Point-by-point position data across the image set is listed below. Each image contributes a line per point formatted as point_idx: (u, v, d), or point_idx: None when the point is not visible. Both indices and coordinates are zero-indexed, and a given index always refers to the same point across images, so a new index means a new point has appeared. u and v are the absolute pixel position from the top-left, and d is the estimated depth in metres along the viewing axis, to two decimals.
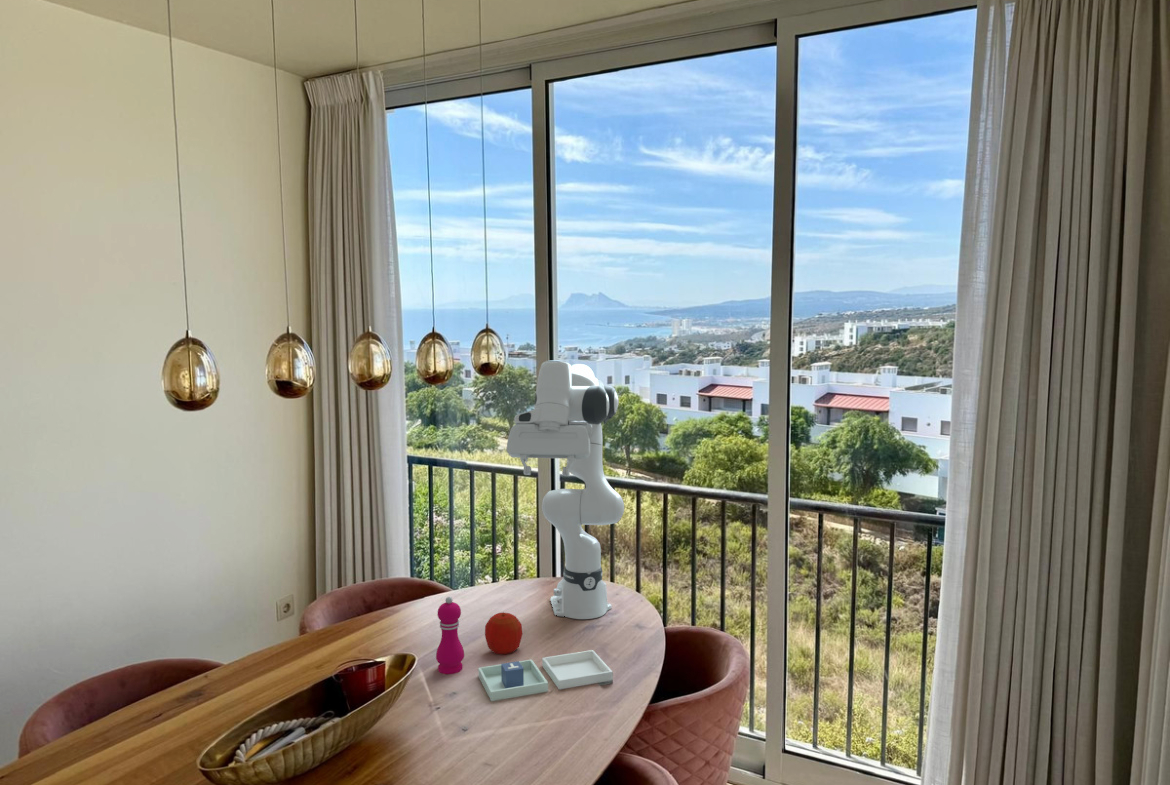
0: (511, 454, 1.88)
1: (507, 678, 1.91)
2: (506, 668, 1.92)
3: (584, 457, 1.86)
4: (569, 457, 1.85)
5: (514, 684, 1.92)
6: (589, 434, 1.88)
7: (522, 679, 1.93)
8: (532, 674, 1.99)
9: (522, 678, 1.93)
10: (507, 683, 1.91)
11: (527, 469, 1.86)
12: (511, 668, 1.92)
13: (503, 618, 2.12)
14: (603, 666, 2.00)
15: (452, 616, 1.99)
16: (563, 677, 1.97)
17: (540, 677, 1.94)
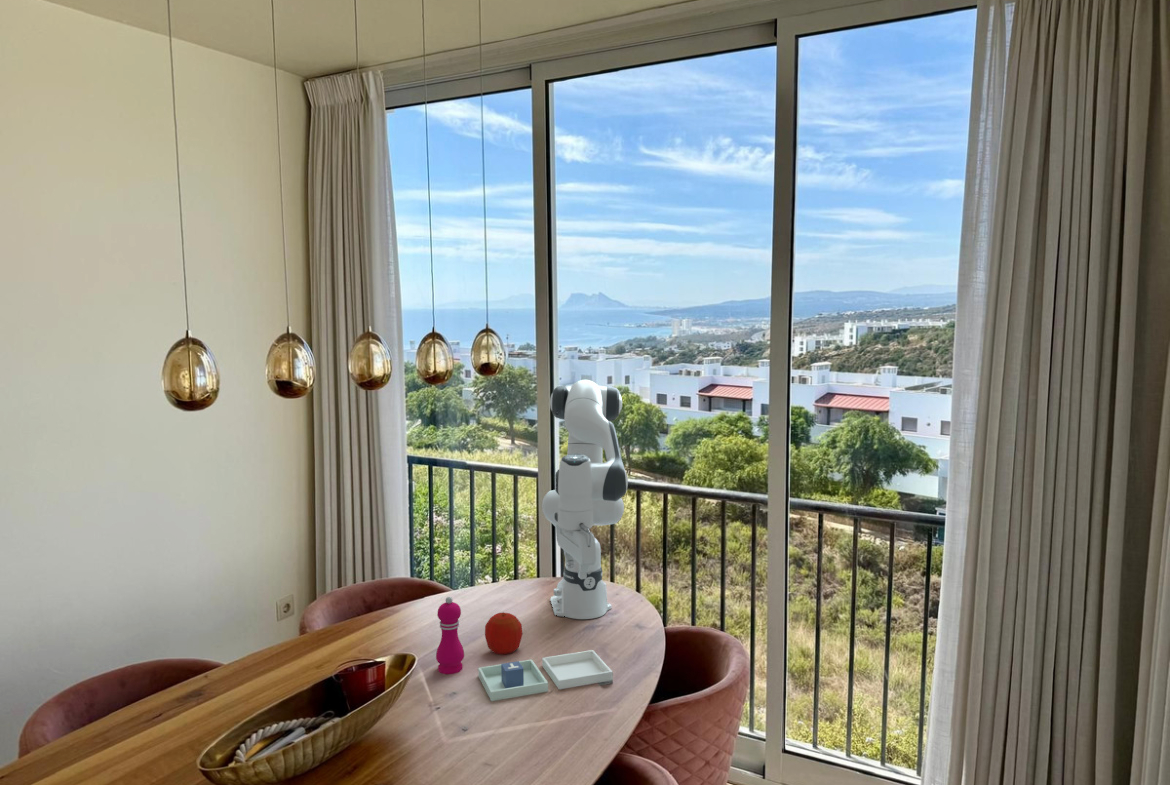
0: None
1: (507, 678, 1.91)
2: (506, 668, 1.92)
3: None
4: (579, 563, 1.92)
5: (514, 684, 1.92)
6: (587, 543, 1.88)
7: (522, 679, 1.93)
8: (532, 674, 1.99)
9: (522, 678, 1.93)
10: (507, 683, 1.91)
11: (567, 564, 2.02)
12: (511, 668, 1.92)
13: (503, 618, 2.12)
14: (603, 666, 2.00)
15: (452, 616, 1.99)
16: (563, 677, 1.97)
17: (540, 677, 1.94)
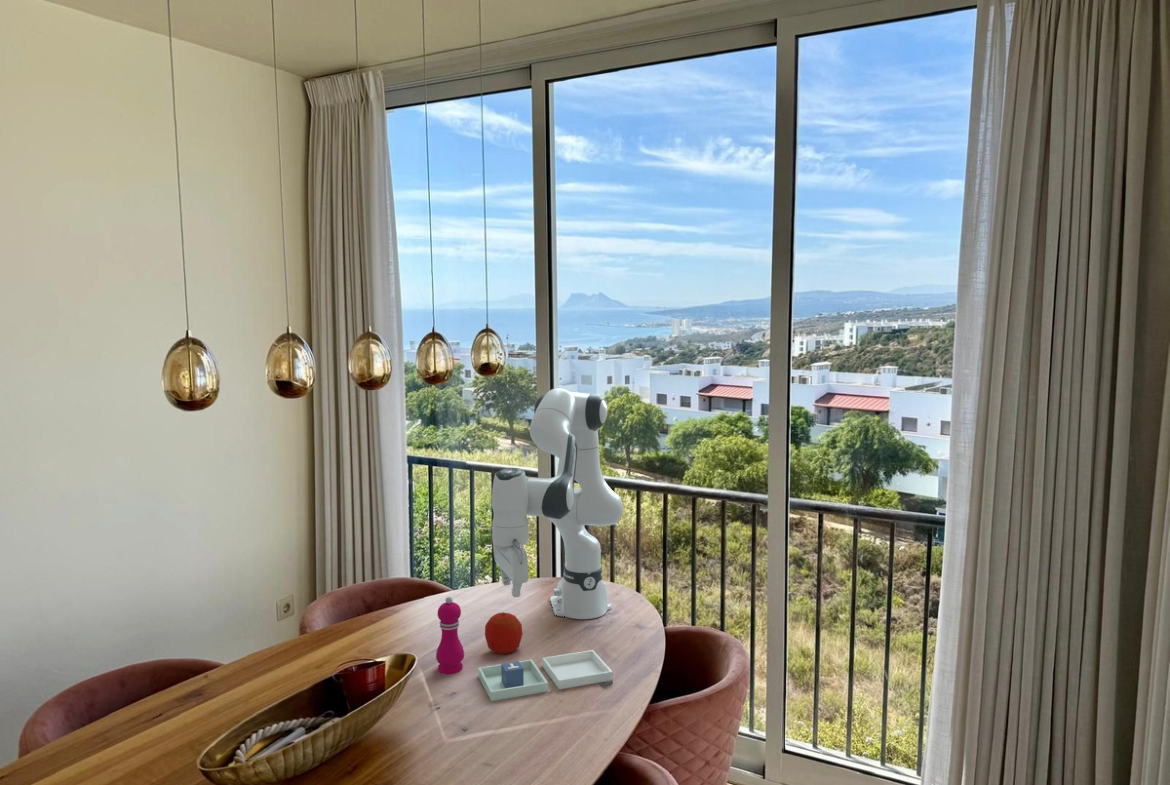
0: None
1: (507, 678, 1.91)
2: (506, 668, 1.92)
3: None
4: (512, 581, 1.86)
5: (514, 684, 1.92)
6: (519, 560, 1.82)
7: (522, 679, 1.93)
8: (532, 674, 1.99)
9: (522, 678, 1.93)
10: (507, 683, 1.91)
11: (503, 581, 1.96)
12: (511, 668, 1.92)
13: (503, 618, 2.12)
14: (603, 666, 2.00)
15: (452, 616, 1.99)
16: (563, 677, 1.97)
17: (540, 677, 1.94)
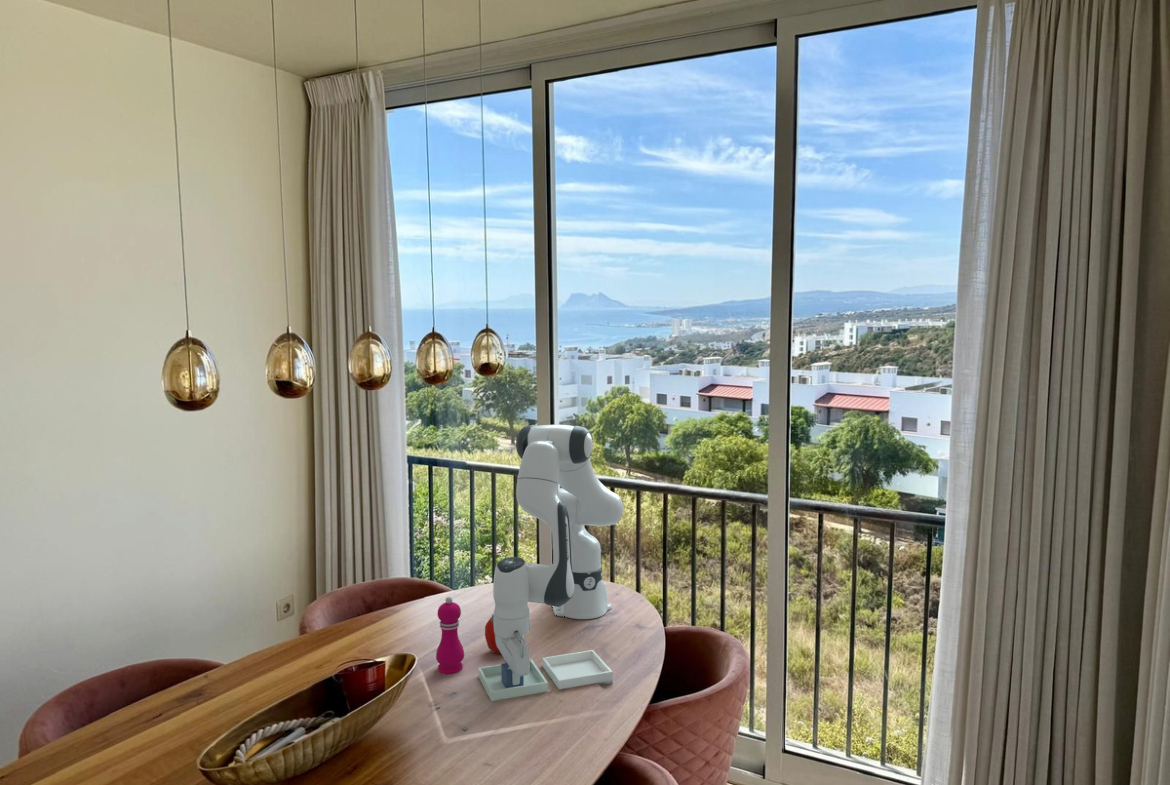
0: None
1: (507, 678, 1.91)
2: (506, 668, 1.92)
3: None
4: None
5: None
6: (520, 654, 1.84)
7: (522, 679, 1.93)
8: (532, 674, 1.99)
9: (522, 678, 1.93)
10: (507, 683, 1.91)
11: None
12: None
13: None
14: (603, 666, 2.00)
15: (452, 616, 1.99)
16: (563, 677, 1.97)
17: (540, 677, 1.94)
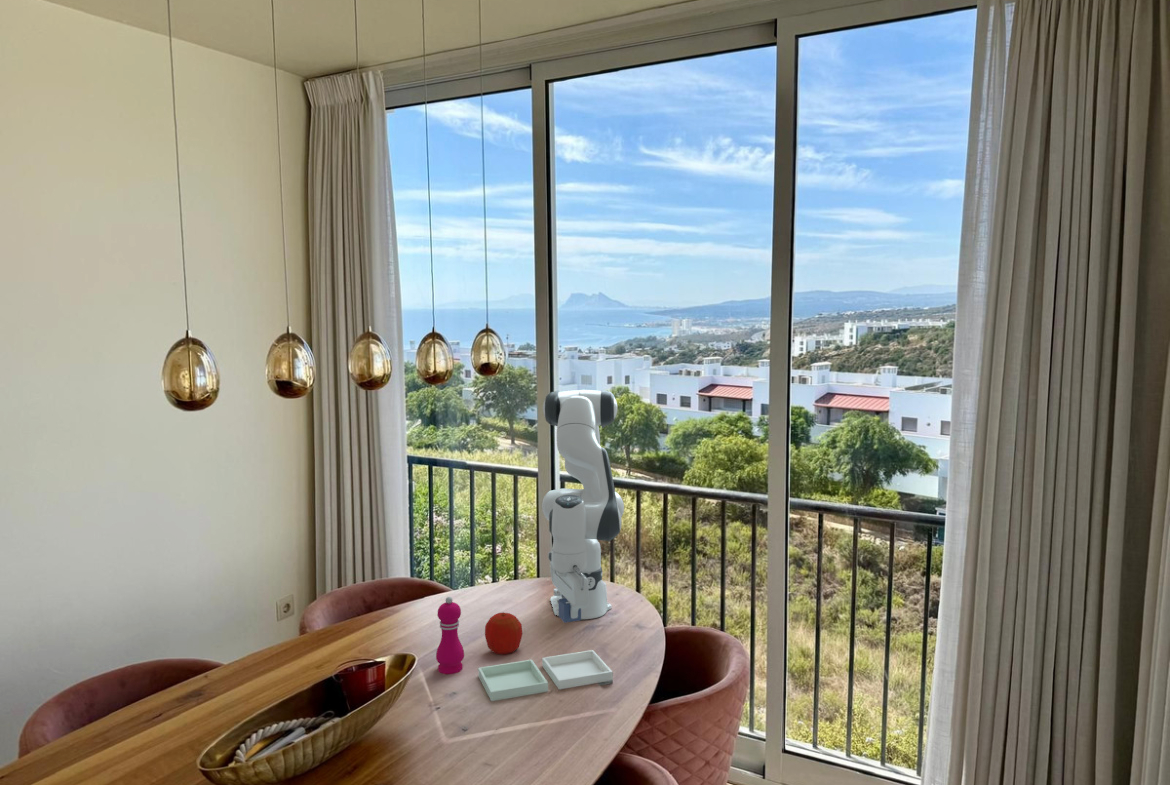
0: None
1: (565, 612, 1.95)
2: (564, 603, 1.97)
3: None
4: (570, 603, 1.94)
5: None
6: (580, 586, 1.88)
7: (580, 613, 1.97)
8: (532, 674, 1.99)
9: (580, 612, 1.97)
10: (565, 617, 1.96)
11: None
12: (569, 603, 1.97)
13: (503, 618, 2.12)
14: (603, 666, 2.00)
15: (452, 616, 1.99)
16: (563, 677, 1.97)
17: (540, 677, 1.94)
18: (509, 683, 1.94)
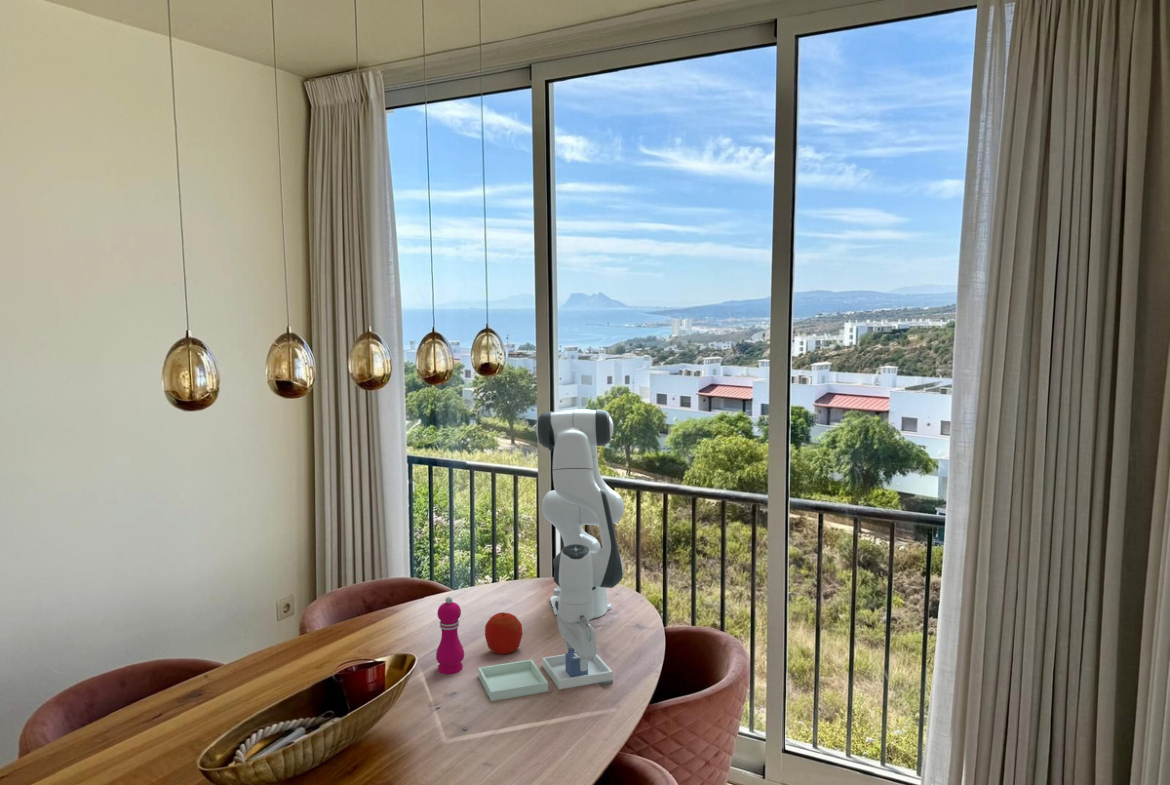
0: None
1: (572, 667, 1.97)
2: (571, 658, 1.98)
3: None
4: None
5: (579, 673, 1.98)
6: (588, 638, 1.90)
7: None
8: (532, 674, 1.99)
9: None
10: (572, 672, 1.97)
11: (567, 652, 2.04)
12: (576, 658, 1.98)
13: (503, 618, 2.12)
14: (603, 666, 2.00)
15: (452, 616, 1.99)
16: (563, 677, 1.97)
17: (540, 677, 1.94)
18: (509, 683, 1.94)
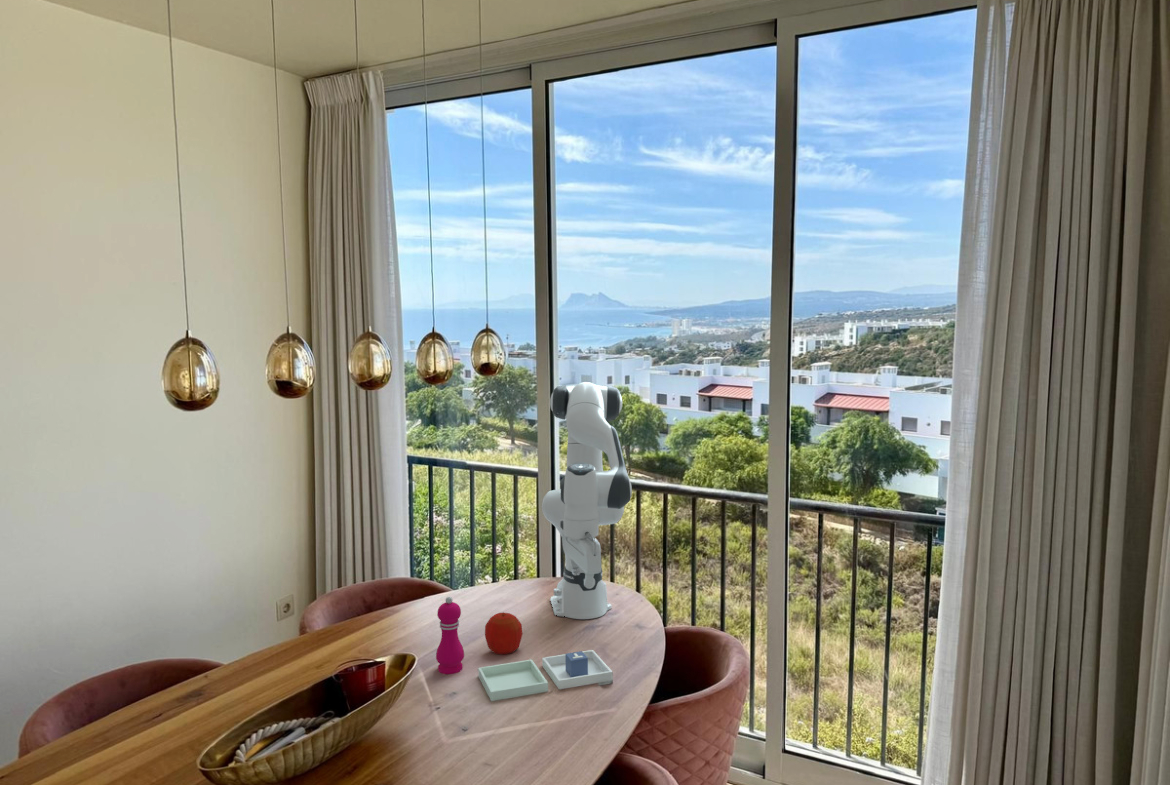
0: None
1: (572, 667, 1.97)
2: (571, 658, 1.98)
3: None
4: (584, 571, 1.94)
5: (579, 673, 1.98)
6: (593, 552, 1.90)
7: (586, 668, 1.98)
8: (532, 674, 1.99)
9: (586, 667, 1.98)
10: (572, 672, 1.97)
11: (572, 571, 2.04)
12: (576, 658, 1.98)
13: (503, 618, 2.12)
14: (603, 666, 2.00)
15: (452, 616, 1.99)
16: (563, 677, 1.97)
17: (540, 677, 1.94)
18: (509, 683, 1.94)
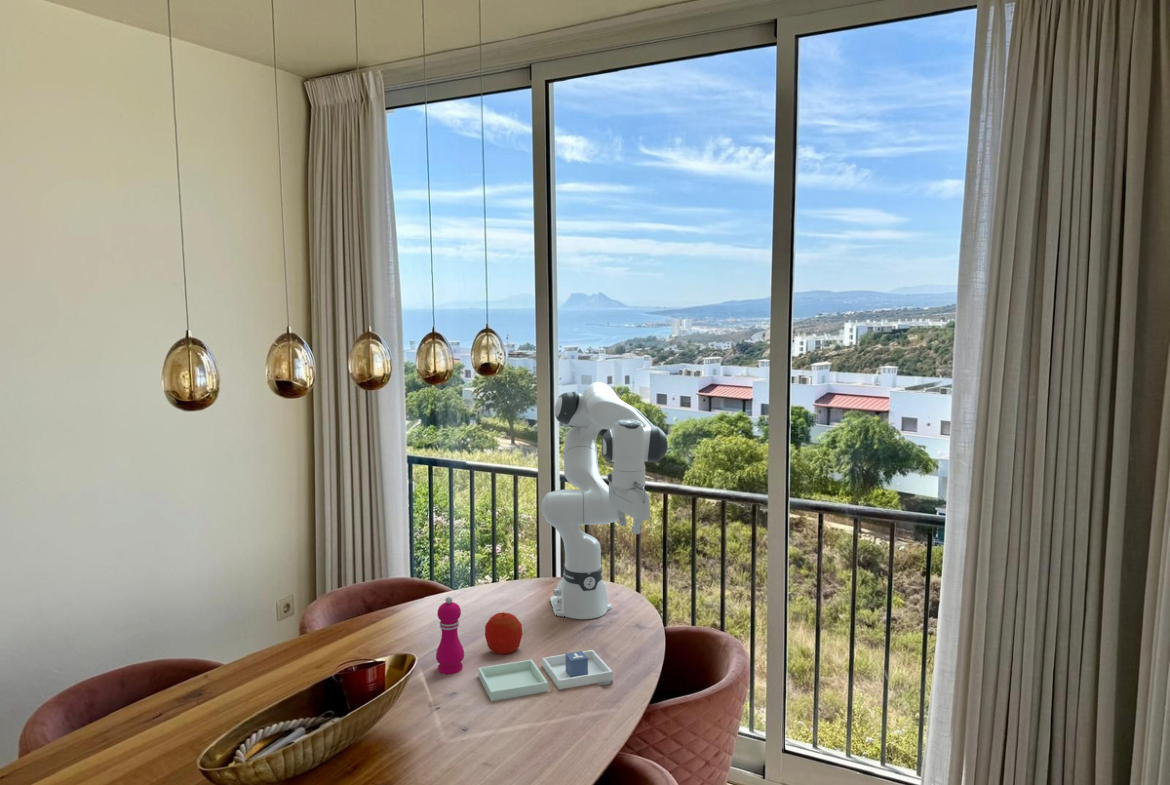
0: None
1: (572, 667, 1.97)
2: (571, 658, 1.98)
3: None
4: (633, 519, 2.07)
5: (579, 673, 1.98)
6: (642, 499, 2.03)
7: (586, 668, 1.98)
8: (532, 674, 1.99)
9: (586, 667, 1.98)
10: (572, 672, 1.97)
11: (619, 522, 2.17)
12: (576, 658, 1.98)
13: (503, 618, 2.12)
14: (603, 666, 2.00)
15: (452, 616, 1.99)
16: (563, 677, 1.97)
17: (540, 677, 1.94)
18: (509, 683, 1.94)
